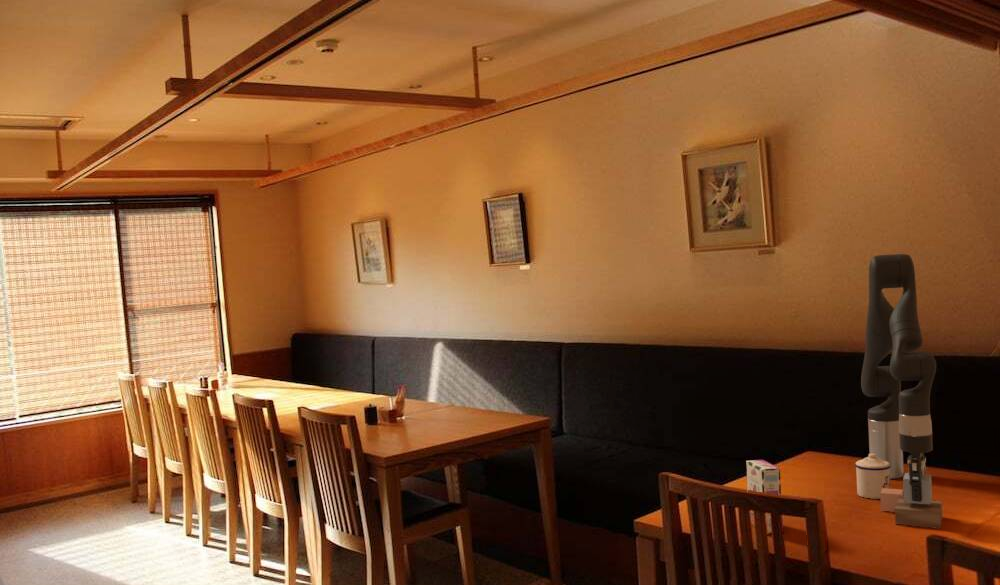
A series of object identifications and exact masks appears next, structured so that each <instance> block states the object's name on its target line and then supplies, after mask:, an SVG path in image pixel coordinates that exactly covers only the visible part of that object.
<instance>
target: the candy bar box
mask: <svg viewBox="0 0 1000 585" xmlns="http://www.w3.org/2000/svg"><path fill="white" fill-rule="evenodd" d="M745 462H746V464H745V465H746V486H747V487H746V488H747V491H748V490H752V491H757V492H762V493H768V494H774V495H781V496H782V489H781V488H782V486H781V484H782V483H781V468H779V467H777V466H776V465H774V464H773V463H770V462H768V461H766V460H764V459H752V460H745ZM751 519H752V521H753V513H752V512H751ZM766 522H767V529H768V534H767V535H772V534H771V516H770V514H766ZM769 531H770V534H769Z"/></svg>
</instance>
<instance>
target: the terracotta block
mask: <svg viewBox="0 0 1000 585" xmlns="http://www.w3.org/2000/svg"><path fill="white" fill-rule="evenodd" d="M880 497H881V499H880V511H881V512H882V511H890V512H889V513H894V512H895V507H896V504H897V502H898V499H899V498H903V499H904V492H903V489H900V488H899V489H898V488H890V489H888V488H882V490H881V493H880Z"/></svg>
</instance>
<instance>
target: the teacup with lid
mask: <svg viewBox="0 0 1000 585" xmlns="http://www.w3.org/2000/svg"><path fill="white" fill-rule="evenodd" d="M867 455H868V456H866V457H864V458H863V459H859V460H857V461H856V462H855V463H854V464H855V468H856V471H855V472H856V490H857V491H856V492H857V495H858V496H859V497H861V498H863V497H864V499H868V498H870V500H871V499H872V500H881V497H880V493H881V490H882V488H888V489H891V479H890V464H889V463H888V462H886V461H883V460H881V459H880V458H877V457H876V454H870V453H868V454H867Z"/></svg>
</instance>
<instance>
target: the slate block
mask: <svg viewBox="0 0 1000 585" xmlns="http://www.w3.org/2000/svg"><path fill="white" fill-rule="evenodd" d="M913 481H918V477H913ZM909 482H910V476H909V474H908V472H904V476H903V478H902V487H903V489H902V490H903V499H904V502H906V503H918V504H930V505H931V501H933V490H932V489H933V487H932V486H933V484H932V474H926V473H925V474H924V477H923V478H922V501H921V502H918V501H913V500H912V486H911V485H910V484H909Z"/></svg>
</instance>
